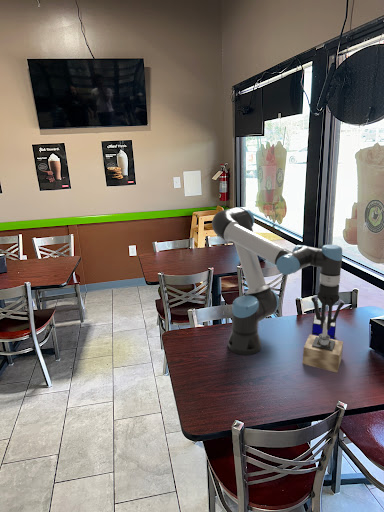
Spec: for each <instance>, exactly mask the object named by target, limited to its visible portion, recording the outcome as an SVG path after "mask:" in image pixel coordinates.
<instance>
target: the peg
mask: <svg viewBox="0 0 384 512" xmlns="http://www.w3.org/2000/svg"><path fill="white" fill-rule="evenodd" d="M329 339H330V336H329V335H328V334H327V336H326V337H322V334H319V345H321V346H325V347H329Z"/></svg>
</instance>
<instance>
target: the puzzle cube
mask: <svg viewBox="0 0 384 512" xmlns="http://www.w3.org/2000/svg"><path fill="white" fill-rule="evenodd" d="M320 316H321V314H320ZM333 317H334V316H332V318H331V319H333ZM325 320H328V315H325ZM320 325H321V321H320V320H317V319H316V314H314V315H313V319H312V330H311V335H315V336H319V334H323V329H321V328H320ZM336 325H337V320H336V321H335V323H331V327H330V330H327V334H328V335H329V336H330V339H333V340H336V327H337V326H336Z"/></svg>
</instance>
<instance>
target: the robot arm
mask: <svg viewBox="0 0 384 512" xmlns="http://www.w3.org/2000/svg"><path fill="white" fill-rule="evenodd" d="M254 223H255V217H254V214H253V212H252V211H251V210H250V209H249V208H247V207H243V206H240V207H239V206H237V207H232V208H228V209H224V210H220V211H217V213H216V214H215V215H213V218H212V221H211V227H212V230H213V232H214V233H215V235H216V236H218V237H219V238H221V239H222V240H224V241H226V242H230V241H231V242H233V243H234V247H235V249H236V252H237V256H238V258H239V262H240V267H241V268H242V269H241V270H242V273H243V275H244V279H245V282H246V285H247V291H246V295H245V294H244V296H243V295H241V296H238V297H236V298H235V299H234V300H233V301H232V306H231V328H232V329H231V333H230V334H229V338H228V340H227V341H228V345H227V346H228V348H229V350H230V351H231V352H232V353H235V354H237V355H241V356H242V355H244V356H250V355H254V354H257V353H259V352H260V351H261V349H262V341H261V338H260V335H259V332H258V331H259V330H258V328H259V327H258V324H259V322H260V321H262V320H264V319H266V318H267V317H270V316H272V315H273V314H274V313H275V312H277V310H278V308H279V305H280V299H279V295H278V294H277V292H275V291H274V290H272V289H271V286H270V285H268V283H266V280H265V277H264V274H263V270H262V267H261V263H260V260H259V257H260V258H262V259H264V260H266V261H268V262H270V263H272V264H273V265H276V269H277V270H278V272H279V273H280V274H282V275H284V276H288V275H291V274H296V273H297V272H298V271H301V270H303V269H305V268H307V267H309V266H311V267H316V268H319V269H320V272H319V284H318V292H317V294H316V295H313V296H312V297H311V299H310V300H311V301H312V304H313V307H314V315H316V319H317V320H320V321H321V325H320V328H321V329H323V334H322V337H326V336H327V330H330V327H331V323H335V321H336V322H337V319H338V316H339V315H340V312H341V308H343V307H344V305H345V304H346V302H345V300H342V299H341V298H340V296H339V293H340V284H341V283H340V281H341V272H342V271H341V269H342V263H343V247H341V246H340V245H337V244H324V245H323V246H322V247H321V248H320V247H319V248H318V247H313V246H309V245H308V246H307V245H302V244H297V245H296V246H295V247H294V248H293V249H292V251H291V250H288V249H287V248H284V247H282V246H280V245H279V244H276V243H275V242H272V241H271V240H269V239H267V238H265V237H263V236H261V235H259V234H257V233H255V232H254V230H253V226H254ZM258 256H259V257H258ZM318 300H319V301H320V303H321V311H320V307H319V302H318ZM335 304H337V308H336V310H335V312H334V313H335V314H334V315H333V306H334V305H335ZM327 306H328V309H327ZM326 310H327V316H328V320H325V316H326ZM320 315H321V316H320ZM332 317H333V319H331V318H332Z"/></svg>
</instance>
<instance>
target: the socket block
mask: <svg viewBox="0 0 384 512" xmlns="http://www.w3.org/2000/svg"><path fill="white" fill-rule="evenodd" d="M343 347H344V341H343V340H337V339H335V340H333V339H329V347H325V346H321V345H319V336H315V335H312V333H310V334H309V335H308V337H307V339H306V342H305V344H304V346H303V353H302V364H303V365H306V366H308V367H309V366H310V367H313V368H318V369H322V370H326V371H329V372H332V373H333V372H334V373H337V374H338V372H339V368H340V365H341V362H342V357H343V356H342V355H343Z"/></svg>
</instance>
